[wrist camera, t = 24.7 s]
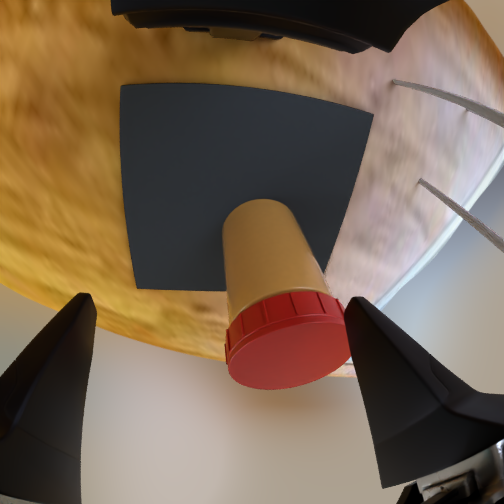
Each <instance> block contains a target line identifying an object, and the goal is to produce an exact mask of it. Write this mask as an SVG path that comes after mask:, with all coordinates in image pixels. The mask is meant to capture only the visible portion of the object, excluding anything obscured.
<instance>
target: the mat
mask: <svg viewBox="0 0 504 504" xmlns="http://www.w3.org/2000/svg"><path fill="white" fill-rule="evenodd" d="M373 116H374V115H373V114H371V113H368V112H365V111H361V110H358V109H355V108H351V107H348V106H344V105H340V104H336V103H333V102H328V101H324V100H320V99H316V98H311V97H306V96H301V95H296V94H291V93H285V92H279V91H273V90H266V89H259V88H251V87H242V86H232V85H219V84H200V83H152V84H134V85H122V86H121V90H120V157H121V175H122V188H123V199H124V209H125V218H126V226H127V233H128V240H129V247H130V253H131V259H132V265H133V271H134V276H135V281H136V286H137V289H158V290H187V291H226V283H225V271H224V258H223V244H222V228H223V225H224V222H225V220H226V218H227V217H228V216H229V214H230V213H231V212H232V211H233V210H234V209H235V208H237V207H238V206H240V205H241V204H243V203H245V202H248V201H251V200H255V199H271V200H275V201H278V202H280V203H282V204H284V205H285V206H287V207H288V208H289V209H290V210H291V211H292V213H293V214H294V216H295V218H296V220H297V222H298V224H299V226H300V228H301V230H302V232H303V234H304V236H305V238H306V240H307V242H308V244H309V246H310V248H311V250H312V252H313V254H314V256H315V258H316V260H317V262H318V264H319V266H320V268H321V271H322V273H323V274H324V271H325V269H326V266H327V263H328V261H329V258H330V255H331V253H332V250H333V247H334V245H335V242H336V239H337V236H338V233H339V230H340V228H341V225H342V222H343V219H344V216H345V213H346V210H347V207H348V204H349V201H350V198H351V195H352V191H353V188H354V185H355V182H356V178H357V175H358V172H359V168H360V165H361V161H362V158H363V154H364V151H365V147H366V143H367V140H368V136H369V132H370V128H371V124H372V120H373Z"/></svg>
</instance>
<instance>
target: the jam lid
mask: <svg viewBox="0 0 504 504" xmlns="http://www.w3.org/2000/svg"><path fill="white" fill-rule="evenodd" d="M344 311H345V308H344V307H343V305H342V304H341V303H340V302H339V300H338V299H335V298H334V297H332V296H330V295H327V294H324V293H320V292H313V291H300V292H289V293H285V294H280V295H276V296H273V297H270V298H267V299H265V300H262V301H260V302H258V303H256V304H254V305H252V306H250V307H249V308H247V309H246V310H244V311H243V312H242V313H240V314H239V315H238V316H237V317H236V318H235V319H234V320H233V322H232V323H231V324H230V326H229V328H228V329H226V344H225V355H226V364H227V365H228V371H229V374H230V375H231V377H232V378H233V379H234V380H235V381H236V382H238V383H239V384H241V385H244V386H247V387H251V388H255V389H265V390H276V389H285V388H292V387H296V386H300V385H304V384H307V383H310V382H313V381H316V380H318V379H320V378H322V377H324V376H326V375H328V374H330V373H332V372H333V371H335V370H336V369H338V368H339V367H340V366H342V365H343V364H344V363H345V362H346V361H347V360H348V359H349V358H350V357H351V353H350V349H349V343H348V338H347V333H346V328H345V322H344V316H343V315H344Z"/></svg>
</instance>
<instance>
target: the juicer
mask: <svg viewBox="0 0 504 504" xmlns="http://www.w3.org/2000/svg"><path fill="white" fill-rule="evenodd" d="M393 82H394V84H396V85H401V86H404V87H408V88H412V89H415V90H419V91H422V92H425V93H428V94H431V95H434V96H437V97H440V98H443V99H445V100H448V101H451V102H453V103H456V104H458V105H460V106H463V107H465V108H467V109H466V110H468V111H470V112H472V113H475V114H477V115H479V116H481V117H483V118H486V119H488V120H490V121H492V122H494V123H496V124H497V125H499V126H501V127H503V128H504V114H503V113H501V112H499V111H497V110H495V109H493V108H490V107H488V106H486V105H483V104H481V103H479V102H476V101H473V100H471V99H468V98H465V97H462V96H459V95H456V94H453V93H450V92H447V91H443V90H440V89H436V88H432V87H428V86H424V85H419V84H415V83H410V82H405V81H399V80H393ZM419 183H420V184H421V185H422V186H424V187H425V188H426V189H428V190H429V191H430V192H431V193H433V194H434V195H435V196H436V197H438V198H439V199H440V200H441V201H443V202H444V203H445V204H446V205H447V206H449V207H450V208H451V209H452V210H453V211H455V212H456V213H457V214H458V215H460V216H461V217H462V218H463V219H464V220H466V221H467V222H468V223H469V224H470V225H472V226H473V227H474V228H475V229H476V230H478V231H479V232H480V233H481V234H482V235H484V236H485V237H486V238H487V239H488V240H489V241H491V242H492V243H493V244H494V245H495V246H496V247H497V248H499V249H500V250H501V251H502V252H504V239H503V238H502V237H501V236H499V235H498V234H497V233H496V232H494V231H493V230H492V229H490V228H489V227H488V226H486V225H485V224H484V223H483V222H481V221H480V220H478V219H477V218H476V217H475V216H473V215H472V214H470V213H469V212H468V211H467V210H465V209H464V208H462V207H461V206H460V205H458V204H457V203H456V202H454V201H453V200H452V199H450V198H449V197H447V196H446V195H445V194H443V193H442V192H440V191H439V190H438V189H436V188H435V187H433V186H432V185H430V184H429V183H427V182H426V181H424V180H423V179H422V178H421V179H420V180H419Z"/></svg>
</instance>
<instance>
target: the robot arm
mask: <svg viewBox="0 0 504 504" xmlns="http://www.w3.org/2000/svg"><path fill="white" fill-rule="evenodd" d="M447 1H449V0H111V10H112V14H113V15H114V16H116V15H124V17H125V19H126V20H127V21H128V22H129V23H130V24H132V25H133V26H134V27H135V28H145V27H146V28H148V29H150V28H167V27H183V28H184V30H186V31H189V32H210V35H211V36H212V37H214V38H227V39H238V40H247V41H253V40H254V39H256V38H257V37H262V38H268V39H274V40H279V39H281V38H283V37H288V38H292V39H297V40H301V41H305V42H309V43H313V44H317V45H321V46H324V47H328V48H331V49H335V50H338V51H345V52H348V53H351V54H355V53H359V52H363V51H365V50H366V49H368V48H370V47H372V46H373V47H376V48H378V49H380V50H383V51H385V52H387V53H389V52H391V51H392V50H393V48H394V47H395V45H396V44H397V43H398V41H399V40H400V38H401V37H402V35H403V34H404V32H405V31H406V30H407V29H408V28H409V27H410V26H411V25H412V24H413V23H414V22H415V21H416V20H417V19H418V18H419V17H420V16H422V15H423V14H424V13H426V12H428V11H429V10H431V9H433V8H434V7H436V6H438V5H440V4H442V3H445V2H447ZM276 35H277V36H276ZM343 316H344V322H345V328H346V333H347V338H348V343H349V349H350V353H351V357H352V361H353V364H354V368H355V371H356V375H357V379H358V382H359V386H360V390H361V394H362V397H363V401H364V405H365V409H366V413H367V418H368V421H369V426H370V430H371V435H372V439H373V444H374V449H375V454H376V459H377V464H378V469H379V474H380V480H381V485H382V488H383V489H384V488H388V487H392V486H396V485H399V484H402V483H406V482H410V481H412V480H416V481H415V482H413V483H411V484H409V485H407V486H405V487H404V489H403V492H402V494H401V496H400V498H399V500H398V502H397V503H396V504H504V394H488V393H482V392H478V391H476V390H475V389H473V388H472V387H470V386H469V385H468V384H466V383H465V382H464V381H463V380H461V379H460V378H458V377H457V376H456V375H455V374H453V373H452V372H451V371H450V370H448V369H447V368H446V367H445V366H443V365H442V364H441V363H440V362H439V361H438V360H436V359H435V358H434V357H433V356H432V355H431V354H429V353H428V352H427V351H426V350H425V349H424V348H423V347H422V346H421V345H419V344H418V343H417V342H416V341H415V340H414V339H412V338H411V337H410V336H409V335H408V334H407V333H406V332H404V331H403V330H402V329H401V328H400V327H399V326H397V325H396V324H395V323H394V322H393V321H392V320H390V319H389V318H388V317H387V316H386V315H384V314H383V313H382V312H381V311H380V310H378V309H377V308H376V307H375V306H374V305H372V304H371V303H370V302H369V301H368V300H366V299H365V298H364V297H361V296H359V297H352V298H351V300H350V301H349V303H348V305H347V307H346V309H345V311H344V315H343ZM96 319H97V310H96V307H95V305H94V302H93V299H92V297H91V295H90V294H89V293H78V294H77V295H76V296H75V297H73V298H72V299H71V300H70V301H69V302H68V303H67V304H66V305H65V306H64V307H63V308H62V309H61V310H60V311H59V312H58V313H57V314H56V316H55V317H54V318H53V319H51V321H50V322H49V323H48V324H47V325H46V326H45V327H44V328H43V329H42V330H41V331H40V332H39V333H38V334H37V335H36V336H35V338H34V339H33V340H32V341H31V342H30V343H29V344H28V345H27V346H26V348H25V349H24V350H23V351H22V352H21V353H20V354H19V356H18V357H17V358H16V361H15V360H14V362H13V363H12V364H11V365H10V366H9V367H8V368H7V370H6V371H5V372H4V373H3V374H2V375H1V377H0V504H81V471H80V470H81V461H80V460H81V440H82V425H83V416H84V406H85V399H86V391H87V385H88V378H89V372H90V367H91V361H92V355H93V345H94V334H95V327H96Z"/></svg>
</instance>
